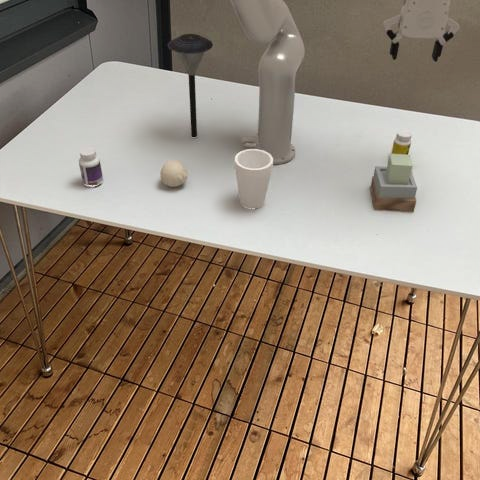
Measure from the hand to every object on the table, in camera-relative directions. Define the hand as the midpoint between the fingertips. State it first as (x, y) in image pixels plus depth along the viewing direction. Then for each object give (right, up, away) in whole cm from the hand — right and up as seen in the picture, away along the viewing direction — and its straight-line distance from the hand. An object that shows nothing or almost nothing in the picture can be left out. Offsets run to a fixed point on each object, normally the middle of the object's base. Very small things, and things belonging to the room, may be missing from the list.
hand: (413, 58), depth 137 cm
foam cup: (-38, -34, +11) cm, 52 cm away
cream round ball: (-59, -29, +17) cm, 68 cm away
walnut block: (-2, -33, +13) cm, 36 cm away
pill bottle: (-81, -28, +17) cm, 87 cm away
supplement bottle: (+4, -20, +28) cm, 35 cm away
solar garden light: (-55, -13, +35) cm, 67 cm away
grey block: (-2, -30, +11) cm, 32 cm away
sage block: (-2, -28, +9) cm, 30 cm away
